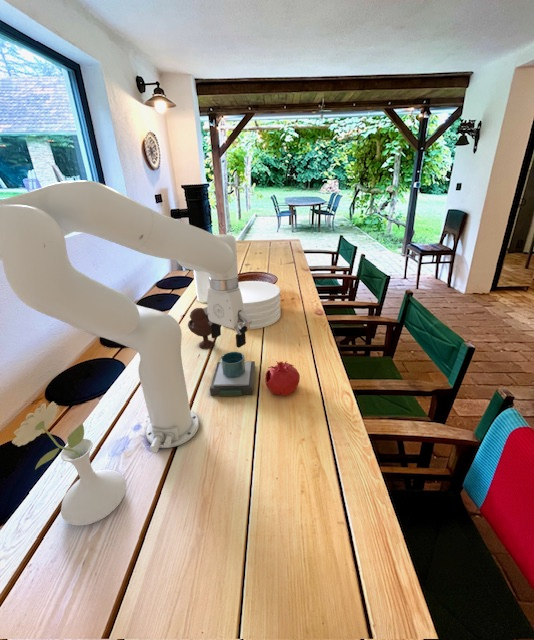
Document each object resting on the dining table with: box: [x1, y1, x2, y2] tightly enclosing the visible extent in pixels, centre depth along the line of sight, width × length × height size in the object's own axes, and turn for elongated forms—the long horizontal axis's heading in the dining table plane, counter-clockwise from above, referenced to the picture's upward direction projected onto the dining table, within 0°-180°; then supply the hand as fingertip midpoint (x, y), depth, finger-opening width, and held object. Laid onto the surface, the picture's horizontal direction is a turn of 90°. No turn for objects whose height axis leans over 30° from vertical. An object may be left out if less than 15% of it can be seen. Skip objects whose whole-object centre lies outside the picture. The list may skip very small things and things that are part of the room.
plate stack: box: [232, 280, 282, 330], centre depth 140 cm, size 28×28×12 cm
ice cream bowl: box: [187, 307, 215, 350], centre depth 116 cm, size 11×11×15 cm
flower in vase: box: [11, 400, 127, 526], centre depth 57 cm, size 13×11×25 cm
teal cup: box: [220, 351, 246, 377], centre depth 96 cm, size 7×7×5 cm
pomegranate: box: [264, 360, 301, 397], centre depth 91 cm, size 10×10×9 cm
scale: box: [209, 360, 256, 397], centre depth 97 cm, size 15×12×3 cm
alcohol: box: [192, 270, 210, 304], centre depth 156 cm, size 9×9×30 cm
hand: (228, 341), depth 91 cm, fingers open, 9 cm apart
